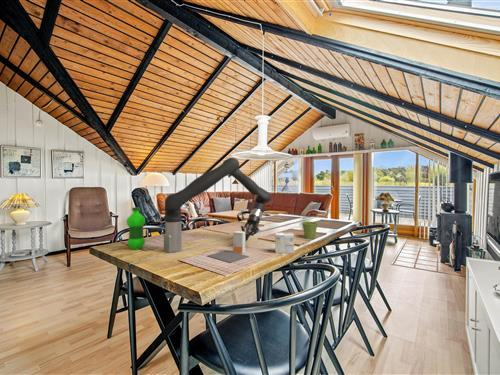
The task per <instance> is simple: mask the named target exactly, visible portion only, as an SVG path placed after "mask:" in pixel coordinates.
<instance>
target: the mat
mask: <svg viewBox="0 0 500 375" xmlns="http://www.w3.org/2000/svg"><path fill="white" fill-rule="evenodd" d="M207 257H208V258H212V259H214V260H218V261H222V262H226V263H229V264H231V263H234V262H238V261H240V260H244V259H247V258H249V257H250V256H249V255H245V254H240V253H234V252H233V251H229V250H223V251H220V252H215V253H211V254H209V255H208V254H207Z"/></svg>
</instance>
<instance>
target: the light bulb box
mask: <svg viewBox="0 0 500 375" xmlns="http://www.w3.org/2000/svg"><path fill="white" fill-rule="evenodd" d="M274 237H275V248H274V249H275V254H293V255H294V254H295V235H294V232H275V235H274Z"/></svg>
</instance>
